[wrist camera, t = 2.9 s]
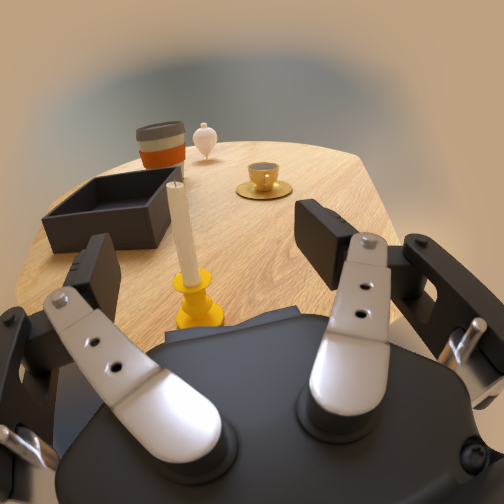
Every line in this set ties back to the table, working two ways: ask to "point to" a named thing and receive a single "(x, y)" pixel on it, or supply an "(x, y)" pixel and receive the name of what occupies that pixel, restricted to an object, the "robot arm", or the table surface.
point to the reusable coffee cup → (162, 145)
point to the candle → (190, 267)
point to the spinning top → (205, 139)
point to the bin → (114, 211)
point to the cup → (263, 182)
